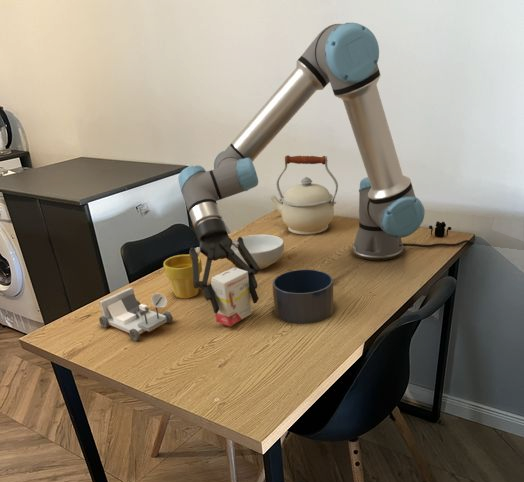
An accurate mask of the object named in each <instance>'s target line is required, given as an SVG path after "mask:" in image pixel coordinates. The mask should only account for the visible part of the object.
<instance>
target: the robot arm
mask: <svg viewBox="0 0 524 482" xmlns="http://www.w3.org/2000/svg"><path fill="white" fill-rule="evenodd" d="M379 59H380V47H379V42H378V39H377V37H376V36H375V34H374V33H373V32H372V31H371V30H370V29H369V28H368V27H366V26H365V25H363V24H360V23H357V22H345V23H334V24H331V25H328V26H326V27H324V28H323V29H322V30H321V31H320V32H319V33H318V34H317V35H316V37H315V38H314V39H313V40H312V41H311V43H310V44H309V45H308V47H307V48H306V49H305V50H304V52H303V53H302V54H301V56H300V57H299V58H298V59H297V60H296V63H295V65H296V66H295V69H294V70H293V71H292V72H291V74H289V76H288V77H286V79H285V80H284V81H283V83H282V84H281V85H280V86H279V87H278V88H277V90H276V91H275V92H274V93H273V94H272V95H271V97H269V99H267V101H266V102H265V104H264V105H262V107H261V108H260V109H259V110H258V111H257V113H255V115H254V116H253V117H252V119H250V121H249V122H248V123H247V125H246V126H245V127H244V128H243V129H242V130H241V131H240V132H239V133H238V135H237V136H236V137H235V138H234V139H233V140H232V142H231V143H230V144H229V145H228V146H227V147H226V148H225V150H222V151H220V152H219V153H217V155H216V156H215V158H214V161H213V169H210V170H207V171H206V169H205V167H203V166H201V165H190V166H187V167H185V168H184V169H182V171H180V173H179V175H178V185H179V188H180V192H181V195H182V197H183V200H184V204H185V206H186V209H187V211H188V215H189V217H190V220H191V223H192V227H193V229H194V233H195V235H196V239H197V241H198V245H199V246H197V247H194V246H191V247H190V248H189V252H188V255H190V257H191V259H192V268H193V286H194V288H199V289H200V290H201V291H202V292H203V295H204V298H205V300H206V301H210V303H211V306H212V310H213V312H214V314H215V313H218V311H219V307H218V304H217V301H216V298H215V295H214V292H213V289H212V284H211V283H209V284H208V282H209V278H210V277H209V276H210V272H211V268H212V262H216V261H218V260H224V259H226V260H227V261H229V262H231V263H232V264H233V265H234V266H235V267H236V268H239V269H242V270H245V271H248V278H249V288H250V298H251V301H252V303H253V304H257V303H258V301H259V299H260V298H259V296H258V293H257V290H256V289H257V288H258V281H257V279H256V276H255V275H257V274H258V273H259V271H260V270H261V269H260V268H259V266H258V265H257V263H256V262H255V260H254V259H253V257H252V256H251V254H250V253H249V251H248V250H247V248H246V247H245V245H244V242H243V238H242V237H243V236H239V237H238V238H236V239H232V238H231V237H230V236H229V234H228V231H227V228H226V225H225V222H224V220H223V217H222V214H221V210H220V209H219V208H220V207H219V205H218V202H217V201H220V200H223V199H226V198H228V197H232V196H235V195H238V194H241V193H244V192H248V191H249V190H251V189H254V188H256V187H257V186H258V185H259V178H258V174H257V171H256V167H255V165H254V161H255V160H256V159H257V158H258V157H259V156H260V154H261V153H262V152H263V151H264V150H265V149H266V148H267V147H268V145H269V144H270V143H271V142H272V141H273V140H274V139H275V138H276V137H277V135H278V134H279V133H280V132H281V131H282V130H283V129H284V127H286V125H287V124H288V123H289V122H290V121H291V120H292V118H294V116H295V115H296V114H297V113H298V112H299V111H300V110H301V109H302V107H303V106H305V104H306V103H307V102H308V101H309V100H310V98H312V96H313V95H314V94H315V93H316V92H317V91H323V90H324V89H325V88H326V87H327V85H329V84H330V86H331V90H332V92H333V95H334V97H335V98H338V99H340V100H342V103H343V106H344V108H345V110H346V115H347V117H348V121H349V123H350V125H351V126H350V127H351V130H352V132H353V135H354V139H355V142H356V145H357V147H358V151H359V154H360V157H361V161H362V163H363V166H364V169H365V172H366V175H367V177H363V178H361V180H360V182H359V188H358V192H359V193H358V194H359V195H358V197H359V199H358V200H359V201H358V230H357V232H356V236H355V239H354V241H353V244H352V254H353V255H354V256H355V257H356V258H359V259H361V260H366V261H375V262H381V261H389V260H393V259H397V258H399V257H400V256H401V255H402V254H403V252H404V247H417V248H433V247H459V246H460V245H463V244H466V243H468V244H470V245H474V244H475V242H473V241H472V240H469V239H465V240H461V241H459V242H455V243H445V242H439V243H438V242H437V243H431V244H430V243H429V244H421V243H420V244H419V243H403V240H402V239H404V238H406V237H409V236H411V235H412V234H414V233H415V232H416V231H418V229H419V228H420V226H421V224H422V223H423V221H424V218H425V214H426V213H425V206H424V204H423V203H422V200H421V199H419V198H418V197H416V195H415V191H414V188H413V184H412V181H411V178H410V177H408V176H406V175H404V174H403V171H402V167H401V164H400V161H399V158H398V154H397V150H396V148H395V144H394V140H393V137H392V134H391V130H390V127H389V123H388V120H387V116H386V113H385V108H384V106H383V103H382V99H381V95H380V92H379V88H378V82H379V80H380V79H381V71H380V68H379V65H378V62H379ZM232 245H234V246H235V248H238V251H239V253H240V254H241V256H242V257H243V259H244V260H245V262H246V263H247V264H248V265H247V264H245V263H244V262H243V261H242V260H241V259H240V258H239V257H238V256H237V255H236V254H235V252H234V251H233V250H232V249H231V246H232ZM200 253H201V254H202V255H204V257H206V262H205V267H204V271H203V278H202V280H200V278H199V267H198V257H200Z"/></svg>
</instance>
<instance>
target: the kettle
mask: <svg viewBox="0 0 524 482" xmlns="http://www.w3.org/2000/svg"><path fill="white" fill-rule="evenodd" d="M328 160H329V159H328V156H326V155H322V156H316V155H310V156H309V155H294V156H293V155H292V156H290V155H289V154H287V155H285V156H284V169H283V170H282V172H281V173H280V175H278V178H277V180H276V190H277V192H278V195H279V197H280V199H278V198H277V196H276V195H275V194H274V195H270V196H269V199H270V200H271V202H272V204H273V205H274V207H275V208H276V210H277V211H278V213H279V214H280V215H281V218H282V221H283V223H284V224H285V226H287V228H288V231H289V232H291V233H292V234H296V235H305V236H306V235H307V236H309V235H316V234H320V233H322V232H325V231H326V230H327V229H329V224H330V223H331V221H332V220H333V219H334V215H335V208H334V206H335V205H336V204H337V201H335V199H336V196H337V193H338V190H339V184H338V181H337V179H336V177H335V176H334V175H333V172H331V170H330V169H329V167H328ZM289 164H296V165H301V164H302V165H318V164H322V165H324V166H325V168H324V169H325V171H326V172H327V174H328V175H329V176H330V178H331V179H332V180H333V182H334V185H335V191H334V195H333V194H331V193H330V191H329V190H328V188H327V187H325V186H324V185H321V184H319V183H313V180H312V179H311V178H310V177H308V176H305V177H303V178H302V179H301V181H300V184H296V185H294V186H292V187H290V188H289V189H287V190H286V192H285V193H284V196H283V194H282V190H281V188H280V180H281V177H282V176H283V175H284V173H285V171H286V170H287V168H288V165H289Z"/></svg>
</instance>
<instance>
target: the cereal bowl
mask: <svg viewBox="0 0 524 482" xmlns="http://www.w3.org/2000/svg"><path fill="white" fill-rule="evenodd" d="M241 237H242V238H243V242H244V245H245V247H246V248H247V250H248V251H249V253H250V254H251V256H252V257H253V259H254V260H255V262H256V263H257V265H258V266H259V268H260V269H259V270H262V269H266V268H268V267H270V265H273V264H275V263H276V262H277V261H279V260H280V259H281V257H282V256H283V254H284V251H285V245H284V244H285V242H284V239H283V238H281V237H279V236H278V235H274V234H261V233H260V234H250V235H245V236H241ZM231 249H232V250H233V251H234V252H235V254H236V255H237V256H238V257H239V258H240V259H241V260H242V261H243V262H244V263H245V264H247V263H246V262H245V260H244V259H243V257H242V256H241V254H240V253H239V251H238V248H235V246H234V245H232V246H231ZM247 265H248V264H247Z"/></svg>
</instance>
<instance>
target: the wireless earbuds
mask: <svg viewBox="0 0 524 482" xmlns="http://www.w3.org/2000/svg"><path fill="white" fill-rule="evenodd" d="M446 226H447V225H446V222H445V221H441V222H440V221H436V222H435V227H433V225H428V229H429V230H430V236H434V237H436V238H443V237H448V236H449V231H451V230H452V226H447V228H446ZM433 231H434V235H433ZM445 233H446V234H445ZM445 235H446V236H445Z"/></svg>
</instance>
